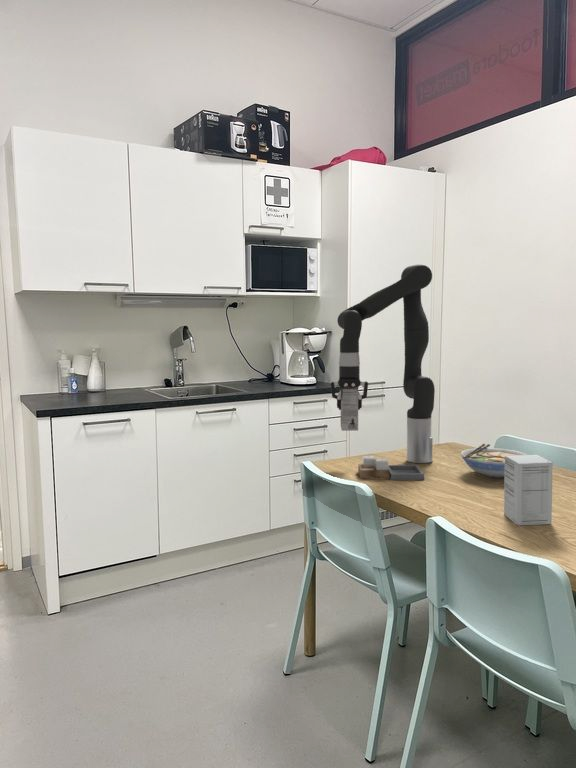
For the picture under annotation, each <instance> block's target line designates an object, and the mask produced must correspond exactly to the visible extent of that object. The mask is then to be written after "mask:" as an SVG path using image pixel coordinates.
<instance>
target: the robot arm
mask: <svg viewBox="0 0 576 768" xmlns="http://www.w3.org/2000/svg"><path fill="white" fill-rule="evenodd" d="M432 280H433V273H432V270H431V269H430V267H429V266H428V265H426V264H420V263H419V264H415V265H409V266H406V267H405V268H404V269H403V271H402V272H401V276H400V279H399V280H397V281H396V282H394V283H392V284H390V285H389V286H386V287H384V288H382V289H380V290H377V291H376V292H374V293H373V294H371V295H369V296H367V297H366V298H365V299H363V300H362V301H360V302H357V304H355V305H352V306H350V307H348V308H346V309H345V310H343V311H341V312H340V313H339V314H338V316H337V320H336V321H337V325H338V326H339V328H341V329H343V334H342V337H340V339H339V358H338V359H339V361H338V371H339V372H338V380H337V381H331V382H330V389H331V397H332V399H335V400H336V408H337V409H338V410H339V411H341V399H340V398H341V389H339V392H338V394H336V388H337V385H338V386H339V388H341V387H347V386H352V387H356V386H357V387H358V388H359V387H360V385H361V386H362V388H363V392H362V395H361V393H360V391H359V390H358V411H360V410H361V409H362V408H363V399H367V397H368V388H369V382H368V381H361V379H360V373H361V372H360V366H361V365H360V364H361V361H360V360H361V359H360V337H361V334H362V333H361V332H362V327H363V321H364V320H366V319H371V318H372V317H374V316H375V315H377V314H379V313H381V312H382V311H384V310H385V309H387V308H389V307H390V306H391V305H392V304H393V305H394V304H395V303H396V302H397V301H399V300H401V299H402V301H403V335H404V336H403V337H404V338H403V339H404V340H403V341H404V342H403V343H404V371H403V372H404V373H403V384H402V385H403V386H402V388H403V392H404V395H405V396H406V397H407V398H409V399H411V400H412V401H413V404H412V407H409V409H407V411H406V462H408V463H413V464H426V463H427V464H429V463H433V437H432V414H433V411H434V406H435V392H436V391H435V389H436V388H435V384H434V381H433V380H432V378H430V377H428V376H422V361H423V359H424V356H425V353H426V350H427V348H428V346H429V342H430V341H429V339H430V338H429V337H430V336H429V335H430V334H429V333H430V331H429V329H430V327H429V321H428V318H427V315H426V313H425V311H424V308H423V304H422V290H423V289H425V288H427V287H428V286H429V285H430V284H431V282H432Z"/></svg>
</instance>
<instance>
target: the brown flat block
mask: <svg viewBox="0 0 576 768" xmlns="http://www.w3.org/2000/svg"><path fill="white" fill-rule="evenodd" d="M357 465H358V467H357V468H358V475H359V477H360V479H361V478H390V470H389V468H388V470H376V468H375V467H363V463H358V464H357Z"/></svg>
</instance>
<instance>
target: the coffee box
mask: <svg viewBox="0 0 576 768" xmlns="http://www.w3.org/2000/svg"><path fill="white" fill-rule="evenodd" d="M340 390H341V398H340V399H341V410H340V428H341V431H342V432H344V431H346V432H349V431H351V432H352V431H359V410H358V391H359V387H357V386H356V387H352V386H347V387H340Z"/></svg>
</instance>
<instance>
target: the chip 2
mask: <svg viewBox="0 0 576 768" xmlns="http://www.w3.org/2000/svg"><path fill="white" fill-rule="evenodd" d="M388 465H389V461H388V459H387V458H375V468H376V470H388Z"/></svg>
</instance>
